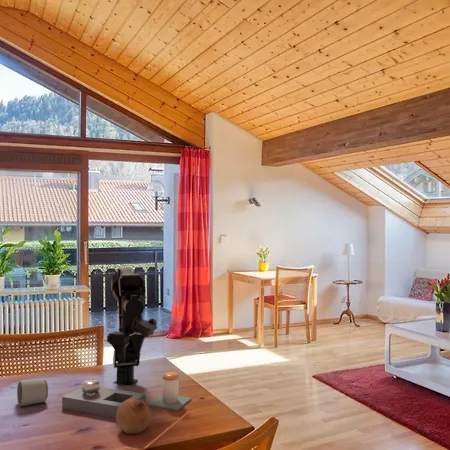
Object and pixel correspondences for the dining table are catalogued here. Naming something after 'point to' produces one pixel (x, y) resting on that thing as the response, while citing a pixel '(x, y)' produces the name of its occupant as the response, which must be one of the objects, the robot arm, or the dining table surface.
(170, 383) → the small lidded jar
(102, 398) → the housing
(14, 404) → the dining table surface
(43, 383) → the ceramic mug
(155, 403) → the mat
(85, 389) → the plunger
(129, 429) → the onion
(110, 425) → the dining table surface
